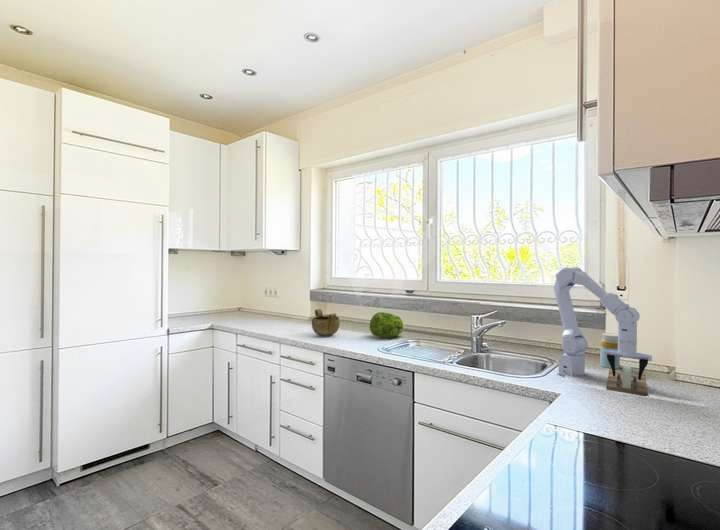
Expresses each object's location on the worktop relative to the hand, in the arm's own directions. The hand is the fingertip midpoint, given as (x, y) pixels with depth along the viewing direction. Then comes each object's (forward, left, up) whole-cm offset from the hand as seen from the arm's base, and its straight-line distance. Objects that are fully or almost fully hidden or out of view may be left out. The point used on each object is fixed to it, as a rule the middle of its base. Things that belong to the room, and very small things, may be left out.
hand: (626, 377), depth 141 cm
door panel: (0, 0, -3) cm, 3 cm away
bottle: (+18, +18, -4) cm, 26 cm away
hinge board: (+5, +3, -4) cm, 7 cm away
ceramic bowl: (-72, +133, -4) cm, 151 cm away
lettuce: (-39, +114, -4) cm, 121 cm away
